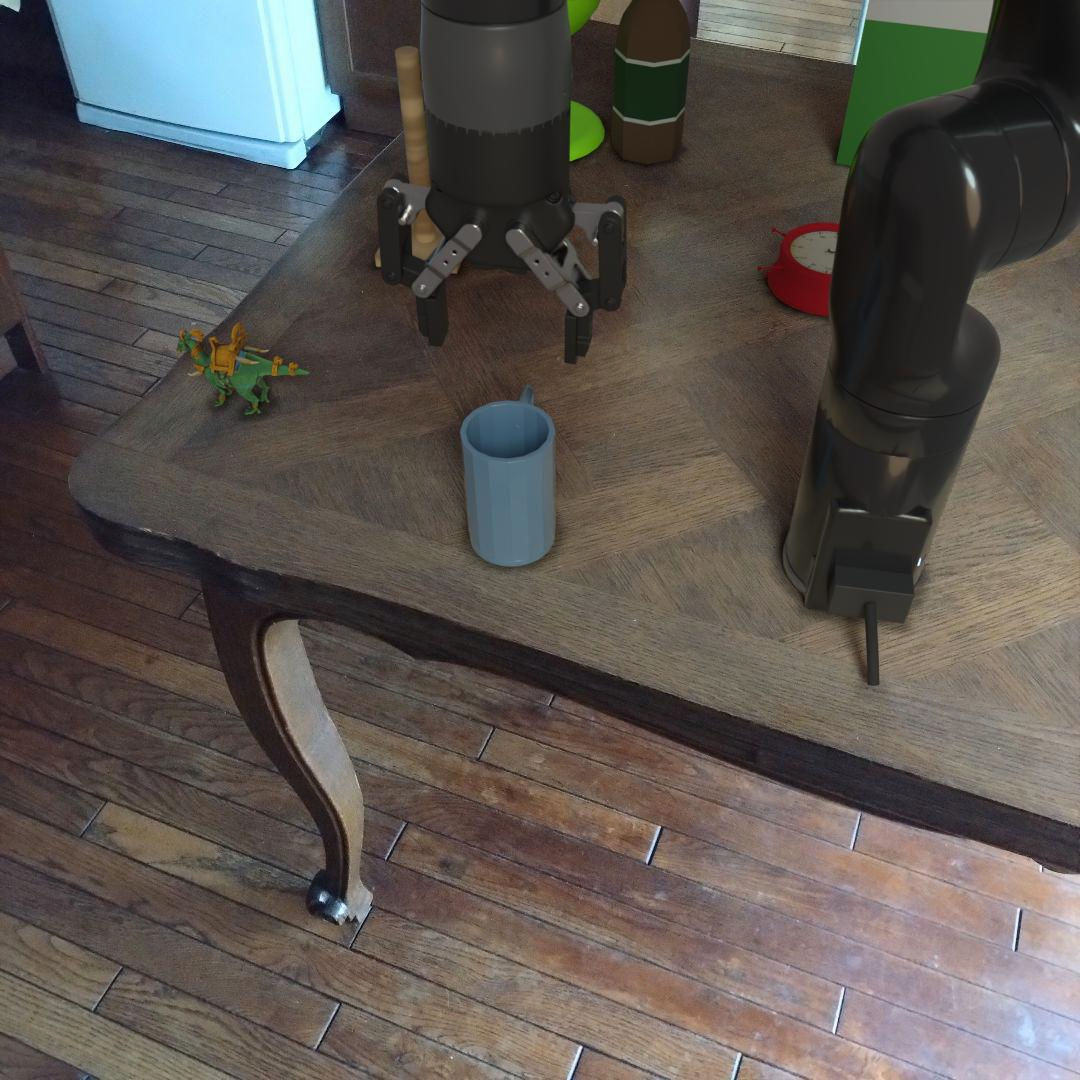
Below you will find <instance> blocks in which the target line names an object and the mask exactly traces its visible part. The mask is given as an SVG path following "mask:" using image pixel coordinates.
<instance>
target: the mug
mask: <svg viewBox="0 0 1080 1080" xmlns="http://www.w3.org/2000/svg"><path fill="white" fill-rule="evenodd" d="M534 397H535V395H534V388H533V387H532V386H531V385H530V384H525V385H523V386H522V387H521V390H520V391H519V395H518V399H517V400H509V399H506V400H500V401H493V402H488V403H485V404H484V405H482V406H480V407H477V408H474V410H472V411H471V412H470V414H468V415H467V416H466V417H465V418H464V419H463V422H462V424H461V427H460V430H459V437H460V438H459V440H460V451H461V461H462V475H463V485H464V486H463V487H464V495H465V507H466V518H467V519H466V520H467V529H468V535H469V542H470V546H471V547H472V549H473V551H474V552H475V553H476V554H477V555H478V557H480V558H481V559H482V560H483V561H485V562H488V563H491V564H492V565H496V566H499V567H507V568H508V567H510V568H511V567H514V568H515V567H522V566H526V565H530V564H532V563H535V562H537V561H538V560H540V559H542V558H543V557H544V556H546V554H548V552H549V551H550V550H551V548H552V547H553V546H554V545H553V544H554V543H555V539H556V529H557V527H556V526H557V522H556V521H557V519H556V513H557V512H556V511H557V510H556V506H557V505H556V501H557V499H556V497H557V495H556V493H557V492H556V486H557V485H556V483H557V481H556V477H557V476H556V475H557V474H556V473H557V472H556V461H557V460H556V427H555V424H554V422H553V418H552V417H551V416H550V415H549V414H548V412H546V411H545V410H544V409H542V407H540V406H539V407H538V406H537V405H535V404H534V403H535V399H534Z"/></svg>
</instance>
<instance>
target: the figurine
mask: <svg viewBox="0 0 1080 1080" xmlns="http://www.w3.org/2000/svg"><path fill="white" fill-rule="evenodd" d="M238 331H239V333H238ZM244 331H245V327H244V324H243V322H237V323H236V324H234V326H233V328H232V331H231V335H230V337H231V342H230V344H227V343H219V339H218V337H217V336H212V337H211V336H210V337H209V338H208V341H209V343H210V345H211V348H212V351H211V352H210V353H208V352H207V351H206V349H205V347H204V346H203V344H202V343H201V342H203V338H204V336H205V333H204V332H203V331H202V330H200V329H199V328H196V327H195V328H193V329H192V330H190V332H188V330H187V329H185V328H184V329H181V330H180V332H179V337H180V338H179V340H178V342H177V346H176V349H175V350H176V353H177V354H179V355H180V354H182V352H188V351H190V356H191V358H192V360H193V363H192V365H193V367H194V368H195V370H196V371H195V372H193V373H188V372H187V373H186V374H187V375H188V376H190V377H193V378H194V377H196V378H197V377H200V376H202V375H204V376H205V379H206V380H207V382H208V383H209V384H210V385H211V386H212V387H213V388H214V389H216V390H217V391H218V392H219V393H220V394H219V396H218V400H215V404H214V407H219V406H222V405H223V404H224V403H225V402H226V400H227V399H226V398H227V396H231V395H232V394H233V392H234V390H235V391H236V392H237V393H238V396H240V397H241V398H243V399H244V400H246V401H249V402H251V406H248V407H247V408H246V409H245V411H244V415H246V416H247V415H253V414H254V413H256V412H257V414H261V413H262V411H261V409H259V407H258V406H259V402H265V401H266V403H267V404H268V403H270V400H269V398H268V392H269V389H270V387H269V386H268V385H267V384H266V383H265V381H264V377H265V376H271V377H279V376H285V375H286V376H291V377H294V376H295V377H296V376H307V375H309V374H310V371H308V370H306V369H303V368H299V364H298V363H295V362H289V364H288V365H284V364H283V363H284V358H281V357H279V356H278V355H276V356H274V357H273V360H268V359H266V358H264V357H260V356H258V355H256V354H266V353H268V352H269V351H270V349H261V348H257V347H254V346H253V347H252V346H248V345H246V344H244V341H247V340H248V335H249V333H247V332H244ZM184 333H185V334H184ZM192 337H196V339H193V338H192ZM253 353H256V354H253ZM255 386H257V387H259V388H260V389H261V392H260V393H261V394H258V396H256V395H255V394H254V393H253V389H254V387H255ZM224 389H227V390H226V391H225V390H224Z"/></svg>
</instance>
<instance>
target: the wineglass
mask: <svg viewBox="0 0 1080 1080" xmlns="http://www.w3.org/2000/svg"><path fill="white" fill-rule="evenodd" d="M601 1H602V0H567V4H568V18H569V25H570V35H571V36H573V35H574V34H575V33H577V32H578V31H580V30H581V29H582V28H583V27H584V26H585V25H586V23H587V22H588V21H589V19H590V18H591V17H592V16H593V15H594V13H595V12H596V11H597V9H598V8H599V5H600V3H601ZM605 132H606V130H605V127H604V124H603V122H602V120H601V118H600V117H599V116H598V115H597V114H596V113H595V112H594V111H593V110H592V109H590V108H589V107H587V106H586V105H583V104H581V103H580V102H577V101H573V100H571V114H570V162H573V161H575V160H577V159H580V158H582V157H585V156H587V155H589V154H590V153H592V152H593V151H595V150H596V149H597V148H599V146H600V145H601V143H602V142H603V141H604V138H605Z"/></svg>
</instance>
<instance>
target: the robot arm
mask: <svg viewBox="0 0 1080 1080" xmlns="http://www.w3.org/2000/svg"><path fill="white" fill-rule="evenodd" d="M420 4H421V5H420V9H421V12H420V13H421V14H420V16H421V17H420V18H421V19H420V39H419V40H420V41H419V55H420V69H421V71H422V79H421V81H422V92H423V104H424V115H425V126H426V137H427V147H428V158H429V169H430V179H431V187H426V186H420V185H414V184H410V182H409V177H408V176H407V175H406V174H404V173H402V172H393V173H391V175H390V176H389V178H388V179H387V181H386V183H385V184H384V186H383V188H382V189H381V191H380V192H379V195H378V196H377V198H376V213H377V214H376V215H377V232H378V245H379V247H380V262H381V267H380V272H381V273H380V275H381V278H382V280H383V281H384V282H385V283H386V284H388V285H389V286H397V285H399V284H401V285H402V286H406V287H408V288H409V289H410V290H411V291H412V293H413V294H414V297H415V304H416V306H415V307H416V316H417V324H418V330H419V332H420V334H421V337H426V338H428V339H427V340H428V345H429V346H430V347H438V348H442V347H443V344H444V343H445V340H446V338H447V336H448V333H449V328H450V326H449V325H450V321H449V309H448V297H447V296H448V295H447V285H446V280H447V279H448V277H449V276H450V275H451V274H453V273H452V271H453V270H454V269H455V268H456V267H457V266H458V264H459V263H460V262H461V261H462V262H463V261H465V262H466V263H468V264H470V265H472V270H480V271H491V270H492V271H493V270H502V271H504V272H508V273H511V274H516V275H523V276H526V275H527V273H528V272H530V271H532V273H533V275H535V276H536V278H537V279H538V280H539V282H540V283H541V284H542V286H544V288H545V289H546V290H547V291H548V292H549V293H555V295H556V296H557V297H558V298H559V299H560V301H561V302H562V303H563V305H564V307H566V308H567V309H566V312H565V315H564V351H563V352H564V355H563V357H564V359H563V360H564V361H563V362H564V364H569V365H577V363H578V360H579V357H583V358H585V357H586V355H587V354H588V352H589V349H590V346H591V343H592V338H593V328H594V327H593V323H594V312H595V311H597V310H601V309H603V310H604V311H606V312H609V313H611V312H612V313H613V312H616V311H618V310H619V309H620V308H621V304H622V301H623V294H624V290H625V288H626V285H627V281H628V257H627V256H628V246H627V244H628V243H627V242H628V241H627V238H628V237H627V236H628V235H627V234H628V233H627V231H628V230H627V226H628V225H627V223H628V222H627V221H628V220H627V218H628V217H627V211H628V210H627V202H626V200H625V199H624V198H623V197H622V196H620V195H618V194H617V195H615V194H614V195H610V196H608V198H606V200H605V201H604V203H596V202H595V203H594V202H593V203H592V202H577V200H576V198H575V196H574V194H573V192H572V189H571V185H570V169H571V168H570V165H571V164H570V163H571V161H570V114H571V101H572V90H573V89H572V88H573V87H574V66H573V64H572V53H573V52H572V35H570V25H569V18H568V4H567V0H420ZM845 183H846V184H845V186H844V191H843V192H844V193H843V198H842V203H841V208H840V216H839V223H838V224H839V229H838V236H837V243H836V249H835V255H834V262H833V268H832V274H831V280H830V287H829V298H828V308H829V316H828V319H829V325H830V332H831V341H830V342H831V343H830V348H829V351H828V357H827V362H826V367H825V371H824V375H823V380H822V383H821V388H820V392H819V397H818V400H817V405H816V410H815V414H814V416H813V422H812V427H811V431H810V436H809V440H808V445H807V448H806V453H805V456H804V457H805V458H804V462H803V465H802V470H801V471H802V472H801V475H800V479H799V483H798V488H797V492H796V496H795V501H793V502H792V503H791V506H790V509H789V515H788V519H790V518H791V520H790V524H789V527H788V528H789V529H788V533H787V535H786V537H785V541H784V544H783V548H782V557H781V558H782V565H783V569H784V572H785V574H786V576H787V578H788V579H789V581H790V582H791V584H792V585H793V586H794V588H796V589H797V591H799V592H800V593H801V594H802V595H803V598H804V607H805V608H806V609H808V610H812V611H813V610H814V611H822V612H826V614H827V615H833V616H840V617H849V618H857V619H862V620H863V619H864V628H865V648H866V682H867V683H866V686H870V687H878V686H880V653H879V635H878V633H879V632H878V631H879V630H878V621H879V622H880V621H881V622H887V623H888V622H889V623H895V624H905V623H906V620H907V617H908V614H909V612H910V610H911V606H912V603H913V601H914V599H915V593H916V591H917V589H918V586H919V584H920V582H921V579H922V576H923V568H924V566H925V563H926V561H927V558H928V555H929V552H930V550H931V547H932V544H933V542H934V538H935V535H936V534H937V530H938V527H939V525H940V523H941V520H942V517H943V514H944V511H945V509H946V506H947V503H948V500H949V498H950V495H951V492H952V490H953V486H954V484H955V483H956V479H957V477H958V473H959V471H960V467H961V465H962V462H963V460H964V457H965V454H966V451H967V449H968V447H969V444H970V440H971V438H972V435H973V433H974V430H975V428H976V426H977V422H978V419H979V418H980V417H979V416H980V414H981V413H982V412H981V411H982V409H983V406H984V403H985V401H986V398H987V396H988V394H989V391H990V388H991V386H992V383H993V380H994V378H995V376H996V373H997V369H998V367H999V363H1000V361H1001V360H1000V359H1001V352H1002V344H1001V339H1000V336H999V334H998V331H997V330H996V328H995V326H994V325H993V324H992V322H991V321H990V320H989V318H987V316H985V315H984V314H983V313H982V312H981V311H979V310H978V309H977V308H975V307H973V306H972V305H970V304H969V303H967V302H968V299H969V295H970V292H971V289H972V287H973V285H974V282H975V280H976V279H978V278H981V277H983V276H987V275H990V274H992V273H995V272H997V271H1001V270H1004V269H1006V268H1009V267H1011V266H1014V265H1017V264H1020V263H1022V262H1025V261H1027V260H1031V259H1033V258H1035V257H1038V256H1040V255H1042V254H1044V253H1047V252H1048V251H1049V250H1051V249H1054V248H1055V247H1056V246H1058V245H1059V244H1060V243H1061V242H1063V241H1064V240H1065V239H1067V237H1069V236H1070V235H1071V234H1072V233H1073V232H1074V231H1075V229H1076V228H1077V226H1078V225H1079V224H1080V0H993V6H992V12H991V17H990V22H989V27H988V32H987V36H986V40H985V44H984V48H983V52H982V56H981V59H980V63H979V66H978V69H977V73H976V75H975V78H974V80H973V83H972V85H971V86H969V87H966V88H962V89H959V90H955V91H951V92H948V93H944V94H941V95H937V96H933V97H930V98H926V99H923V100H920V101H916V102H913V103H909V104H906V105H903V106H900V107H898V108H895V109H893V110H891V111H889V112H887V113H886V114H884V115H883V116H881V117H880V118H879V119H878V120H877V121H876V122H874V124H873V125H872V126H871V127H870V129H869V130H868V131H867V132H866V134H865V136H864V137H863V139H862V141H861V142H860V144H859V147H858V149H857V151H856V153H855V156H854V158H853V161H852V164H851V166H849V170H848V175H847V179H846V182H845ZM421 210H426V212H427V214H428V216H429V218H430V219H431V220H432V221H433V223H434V224H435V225H436V226H437V228H438V229H439V230H440V231H441V233H442V234H443V235H444V236H443V238H442V239H441V241H440V242H439V244H438V245H437V246H436V247H435V249H434V250H433V251H432V252H431V253H430V255H429V256H428V257H427V258H426V260H423V259H420V258H418V257H416V256H413V255H412V229H411V224H412V223H414V221H415V220H416V218H417V216H418V214H419V212H420V211H421ZM574 227H578V228H580V229H582V230H583V232H584V233H585V237H586V240H587V241H588V243H590V246H591V247H594V248H597V249H598V250H597V251H598V254H597V255H598V277H596V278H593V276H592V274H590V273H589V271H588V270H587V268H585V266H584V265H583V263H582V262H581V261H580V259H579V256H578V251H577V248H575V246H574V245H573V243H572V242H571V241H570V240H569V238H568V237H567V236H568V235H570V233H571V232H572V230H573V229H574Z"/></svg>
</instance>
